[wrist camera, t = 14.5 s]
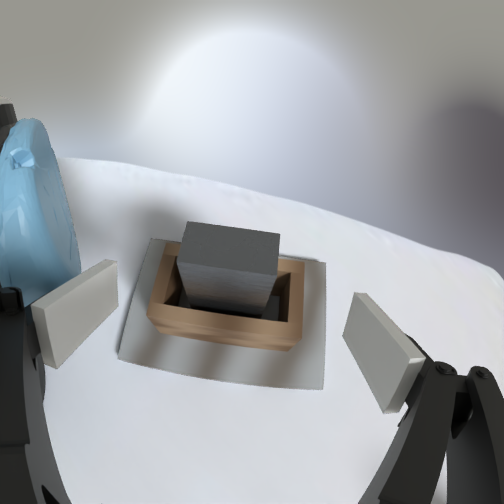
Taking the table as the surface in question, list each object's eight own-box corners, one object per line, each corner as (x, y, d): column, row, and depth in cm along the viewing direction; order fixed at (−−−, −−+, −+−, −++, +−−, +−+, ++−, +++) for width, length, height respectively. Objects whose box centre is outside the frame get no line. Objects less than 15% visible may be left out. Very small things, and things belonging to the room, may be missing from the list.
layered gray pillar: (195, 321, 27) (176, 261, 16) (200, 293, 28) (187, 221, 18) (256, 330, 27) (277, 275, 17) (259, 301, 28) (280, 233, 18)
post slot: (120, 360, 25) (94, 346, 19) (153, 243, 32) (140, 207, 26) (320, 390, 25) (345, 384, 19) (323, 266, 32) (342, 235, 27)
